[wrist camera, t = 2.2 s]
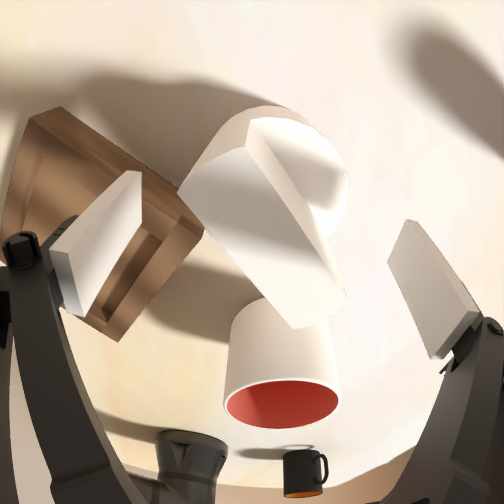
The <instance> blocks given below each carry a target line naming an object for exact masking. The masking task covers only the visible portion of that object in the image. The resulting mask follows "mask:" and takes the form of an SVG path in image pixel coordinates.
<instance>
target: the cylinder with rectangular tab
mask: <svg viewBox="0 0 504 504" xmlns="http://www.w3.org/2000/svg"><path fill="white" fill-rule="evenodd" d="M177 194H178V195H179V197H180V198H181V199H182V200H183V201H184V203H185V204H186V205H187V206H188V207H189V209H190V210H191V211H192V212H193V213H194V215H195V216H196V217H197V218H198V219H199V220H200V222H201V223H202V224H203V226H204V228H205V229H206V231H207V232H208V233H209V234H210V235H211V236H212V237H213V238H214V239H215V240H216V241H217V242H218V243H219V244H220V245H221V246H222V248H223V249H224V250H225V251H226V252H227V254H228V255H229V256H230V257H231V258H232V259H233V261H234V262H235V263H236V264H237V265H238V266H239V268H240V269H241V270H242V271H243V272H244V273H245V274H246V276H247V277H248V278H249V279H250V280H251V281H252V283H253V284H254V285H255V286H256V287H257V288H258V290H259V291H260V292H261V293H262V294H263V295H264V296H265V298H266V299H267V300H268V301H269V302H270V303H271V304H272V306H273V307H274V308H275V309H276V310H277V311H278V312H279V314H280V315H281V316H282V317H283V318H284V319H285V320H286V322H287V323H288V324H289V325H290V326H291V327H292V328H293V329H300V328H303V327H306V326H309V325H312V324H315V323H318V322H321V321H324V320H326V319H327V318H329V317H331V316H333V315H334V314H336V313H338V312H339V311H341V310H343V309H344V308H346V307H347V306H348V305H349V301H348V297H347V294H346V291H345V287H344V284H343V281H342V278H341V275H340V272H339V269H338V266H337V263H336V259H335V256H334V253H333V251H332V248H331V245H330V242H329V239H328V236H329V235H330V234H331V233H332V232H333V230H334V229H335V228H336V227H337V225H338V223H339V221H340V219H341V217H342V215H343V213H344V211H345V207H346V202H347V197H348V182H347V173H346V171H345V168H344V165H343V163H342V160H341V158H340V155H339V154H338V153H337V151H336V150H335V149H334V147H333V146H332V145H331V144H330V142H329V141H328V140H327V139H326V137H325V136H324V135H323V134H322V133H321V132H320V131H319V130H318V129H317V128H316V127H315V126H314V125H313V124H312V123H311V122H310V121H309V120H308V119H306V118H305V117H303V116H302V115H301V114H299V113H298V112H295V111H293V110H290V109H287V108H284V107H281V106H269V105H263V106H258V107H252V108H248V109H246V110H244V111H242V112H240V113H238V114H236V115H234V116H232V117H231V118H230V119H229V120H228V121H227V122H226V123H224V124H223V125H222V126H221V128H220V129H219V130H218V132H217V133H216V135H215V136H214V137H213V139H212V140H211V142H210V143H209V144H208V146H207V147H206V149H205V150H204V152H203V153H202V155H201V156H200V158H199V159H198V161H197V162H196V163H195V165H194V166H193V168H192V169H191V171H190V173H189V174H188V176H187V177H186V179H185V180H184V182H183V183H182V185H181V186H180V188H179V190H178V192H177Z"/></svg>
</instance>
